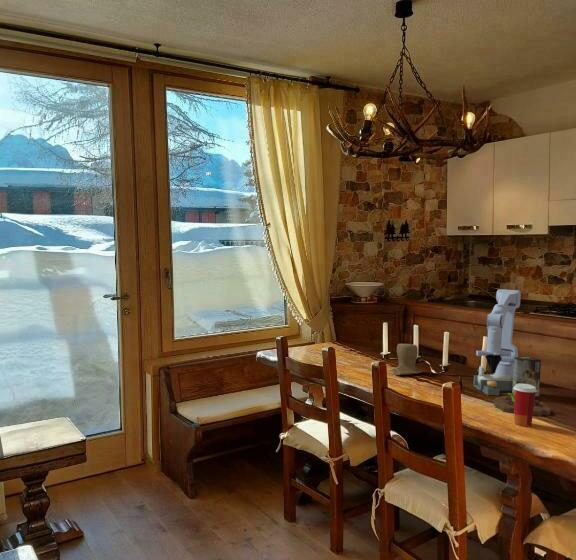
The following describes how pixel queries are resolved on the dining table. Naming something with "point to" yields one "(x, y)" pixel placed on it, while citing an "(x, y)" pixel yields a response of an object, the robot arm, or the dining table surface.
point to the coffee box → (527, 371)
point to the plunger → (492, 384)
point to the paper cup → (524, 404)
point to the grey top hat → (406, 360)
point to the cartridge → (490, 376)
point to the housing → (501, 386)
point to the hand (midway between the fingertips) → (492, 372)
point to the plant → (508, 404)
